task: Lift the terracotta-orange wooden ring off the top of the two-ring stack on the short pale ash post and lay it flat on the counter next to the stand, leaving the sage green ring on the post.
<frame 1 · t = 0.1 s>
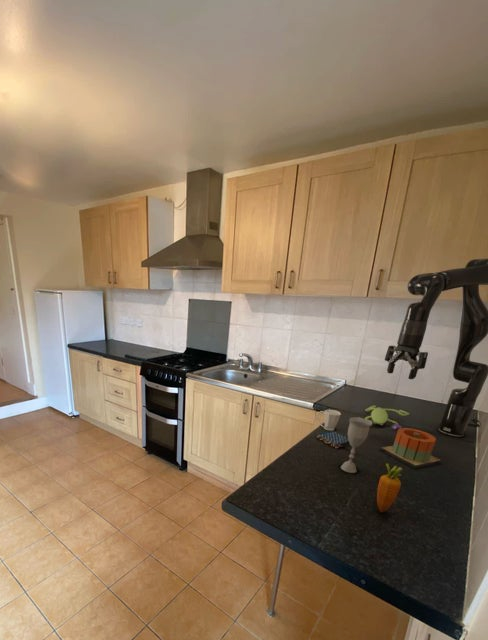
hand: (400, 376, 125), 29 cm above the worktop, tool pointing down, fingers open, 8 cm apart
orange ring: (413, 444, 124), point 5 cm above the worktop, touching green ring
chalice: (348, 469, 115), on the worktop
carrot: (380, 512, 93), on the worktop
ring stand: (409, 457, 126), on the worktop
figurine: (381, 421, 160), on the worktop
cup: (325, 428, 149), on the worktop
green ring: (410, 453, 126), point 1 cm above the worktop, touching orange ring, ring stand
woven mat: (334, 442, 135), on the worktop
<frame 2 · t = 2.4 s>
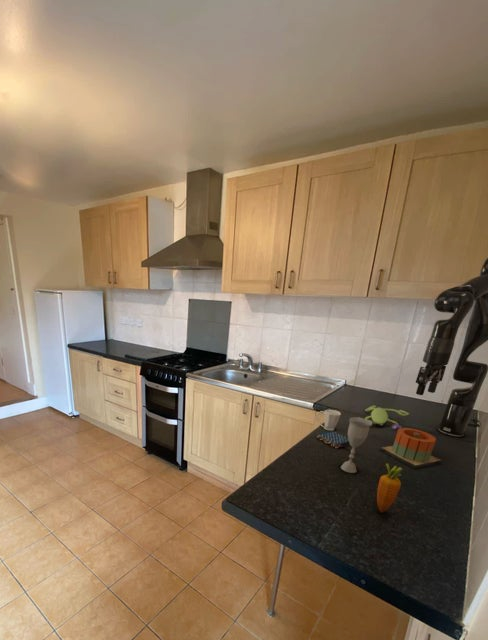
hand: (425, 393, 123), 24 cm above the worktop, tool pointing down, fingers open, 8 cm apart
nothing on the worktop moved.
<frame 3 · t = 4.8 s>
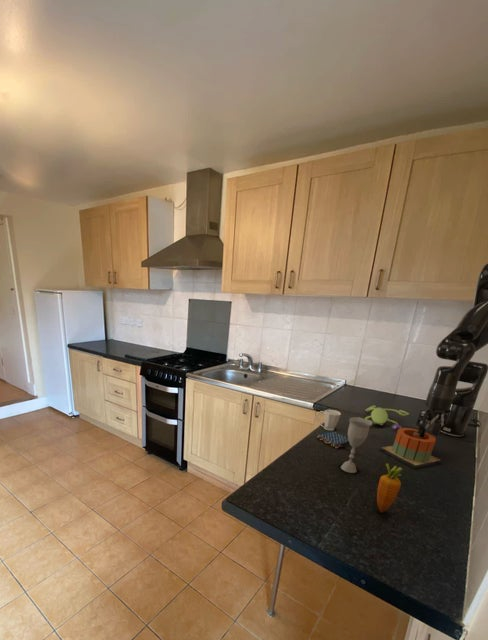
hand: (427, 435, 126), 8 cm above the worktop, tool pointing down, fingers open, 8 cm apart
nothing on the worktop moved.
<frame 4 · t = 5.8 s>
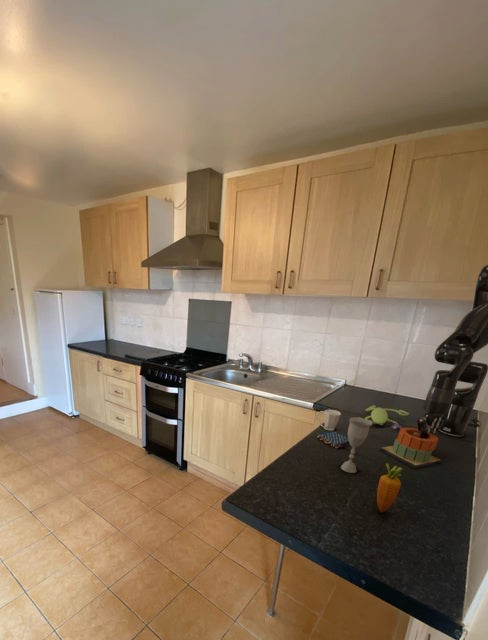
hand: (424, 441, 126), 6 cm above the worktop, tool pointing down, fingers closed on orange ring, 2 cm apart
orange ring: (415, 443, 125), point 6 cm above the worktop, touching green ring, gripper
everything else where it was.
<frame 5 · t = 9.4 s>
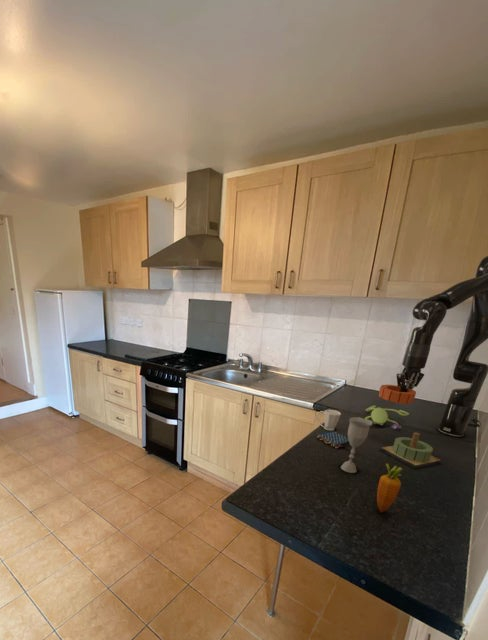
hand: (404, 396, 133), 20 cm above the worktop, tool pointing down, fingers closed on orange ring
orange ring: (395, 398, 132), point 19 cm above the worktop, touching gripper
green ring: (410, 453, 126), point 1 cm above the worktop, touching ring stand
everything else where it was.
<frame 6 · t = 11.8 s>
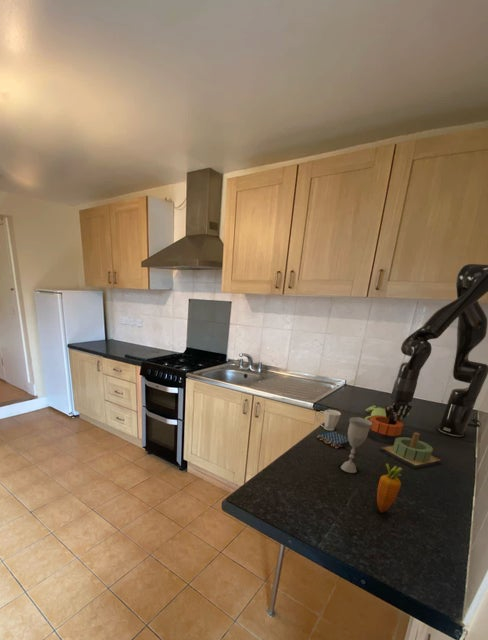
hand: (392, 427, 139), 6 cm above the worktop, tool pointing down, fingers closed on orange ring, 2 cm apart
orange ring: (384, 429, 137), point 5 cm above the worktop, touching gripper
everything else where it was.
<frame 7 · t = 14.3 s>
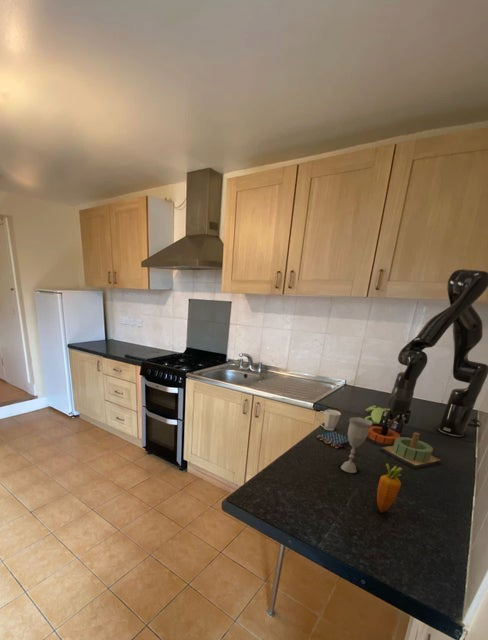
hand: (390, 433, 140), 3 cm above the worktop, tool pointing down, fingers open, 8 cm apart
orange ring: (381, 440, 139), on the worktop
everything else where it was.
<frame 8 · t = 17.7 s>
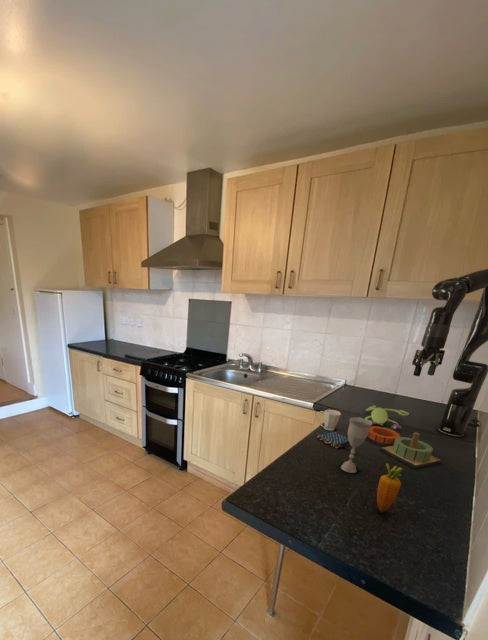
hand: (423, 375, 134), 28 cm above the worktop, tool pointing down, fingers open, 8 cm apart
nothing on the worktop moved.
at the end: orange ring inside the target area (0.1 cm from its centre), on the worktop; orange ring tilted 0°; green ring moved 0.1 cm from its start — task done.
